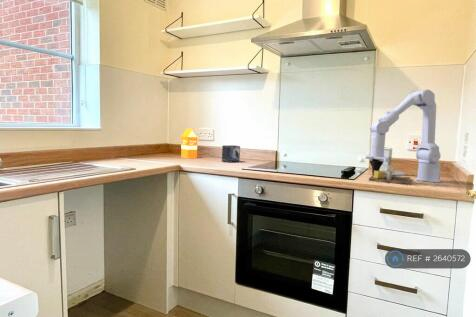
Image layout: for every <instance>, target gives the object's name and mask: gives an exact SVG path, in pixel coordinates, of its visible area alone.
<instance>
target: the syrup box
mask: <svg viewBox="0 0 476 317" xmlns="http://www.w3.org/2000/svg"><path fill="white" fill-rule="evenodd" d="M392 156H393V147H385V146H384V157H387V158H389V162H383V164H382V165H381V167H380V169H379V170H387V169H391V166H392V165H391V164H392Z"/></svg>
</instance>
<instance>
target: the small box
mask: <svg viewBox="0 0 476 317" xmlns="http://www.w3.org/2000/svg"><path fill="white" fill-rule="evenodd" d="M221 147H222V150H221V152H222V153H221V162H223V163H240V159H241V158H240V156H241V146H240V145H232V144H231V145H222V146H221Z"/></svg>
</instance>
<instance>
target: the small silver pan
mask: <svg viewBox="0 0 476 317" xmlns="http://www.w3.org/2000/svg"><path fill="white" fill-rule="evenodd" d="M388 171H392V176H402V177H405V175H406V172H404V171H397V170H396V169H391V168H390V169H387V170H375V171H374V178H384V176H385V175H387V172H388Z"/></svg>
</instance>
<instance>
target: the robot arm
mask: <svg viewBox="0 0 476 317" xmlns="http://www.w3.org/2000/svg"><path fill="white" fill-rule="evenodd" d="M435 95H436V94H435V93H434V91H432V90H431V89H423V90H417V91H416V90H414V91H411V92H410V93H409V94H408V95H406V97H405V98H404V100H402V101H401V102H400V103H399V104H398V105H397V106H396V107H395V108H394V109H391V110H387V111H386V112H385V114H384V115H383V116H382V117H379V118H378V119H377V121H374V122H373V123H372V124H371V126H370V128H369V130H370V132H371V144H370V146H371V148H370V154H365V159H367V160H369V164H370V166H371V170H372V171H371V172H372V175H374V171H375V170H379V169H380V167H381V165H382V164H383V162H389V158H387V157H384V147H385V142H386V135H387V134H386V133H389V131H390V127H392V125H394V124H395V123H396V122H397V121H398V120H399V119H400V116H401V114H402V113H404V112H405V111H406V110H408V109H409V108H411V107H412V106H416V107H418V108H419V109H421V110H422V129H421V142H420V143H419V144H418V145H417V150H416V151H415V152H416V153H415V157H416V159H417V162H418V168H417V177H416V178H415V180H416V181H419V182H430V183H440V179H441V163H438V162H439V161H440V159H441V155H442V154H441V152H440V146H438V145H437V144H436V142H435V141H436V126H437V125H436V124H437V122H436V120H437V104H436V100H435V99H436V96H435Z"/></svg>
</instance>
